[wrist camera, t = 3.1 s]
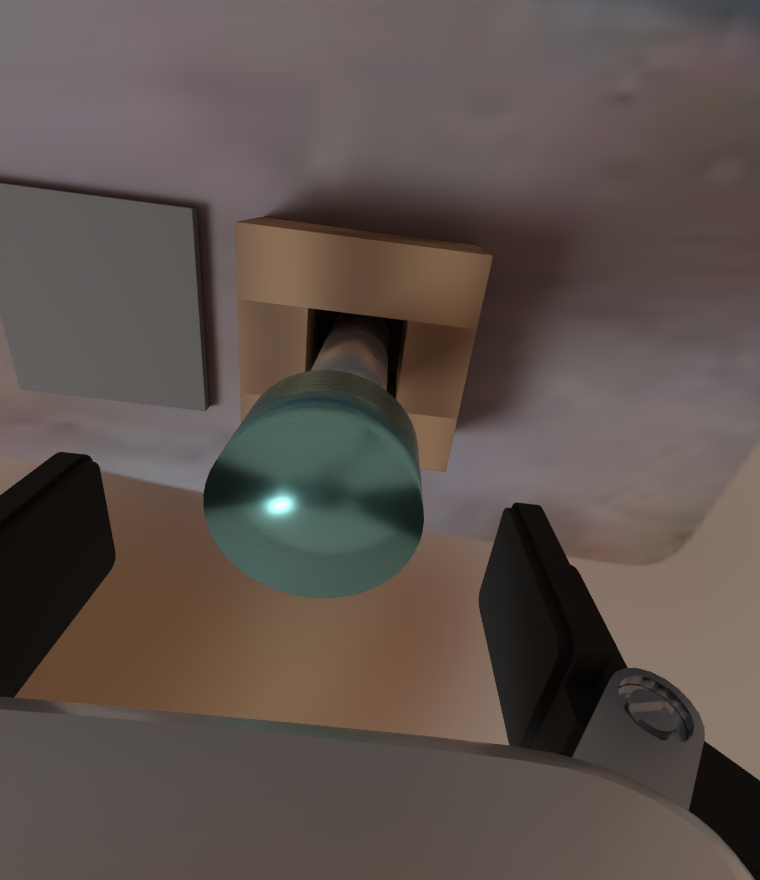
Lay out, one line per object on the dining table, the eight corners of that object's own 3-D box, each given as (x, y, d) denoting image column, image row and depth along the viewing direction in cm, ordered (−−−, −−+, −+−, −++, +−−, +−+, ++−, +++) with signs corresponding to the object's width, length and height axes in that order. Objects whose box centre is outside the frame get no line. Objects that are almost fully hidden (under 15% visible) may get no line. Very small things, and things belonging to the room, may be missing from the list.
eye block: (477, 245, 22) (493, 255, 18) (439, 434, 26) (445, 472, 23) (262, 216, 21) (235, 221, 18) (262, 413, 26) (241, 447, 22)
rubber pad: (196, 208, 21) (191, 208, 21) (209, 406, 26) (205, 411, 25) (-26, 178, 21) (-37, 178, 20) (28, 384, 26) (20, 388, 25)
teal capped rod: (415, 293, 23) (442, 436, 9) (401, 388, 25) (406, 608, 12) (313, 280, 22) (195, 406, 9) (309, 376, 25) (210, 586, 12)
